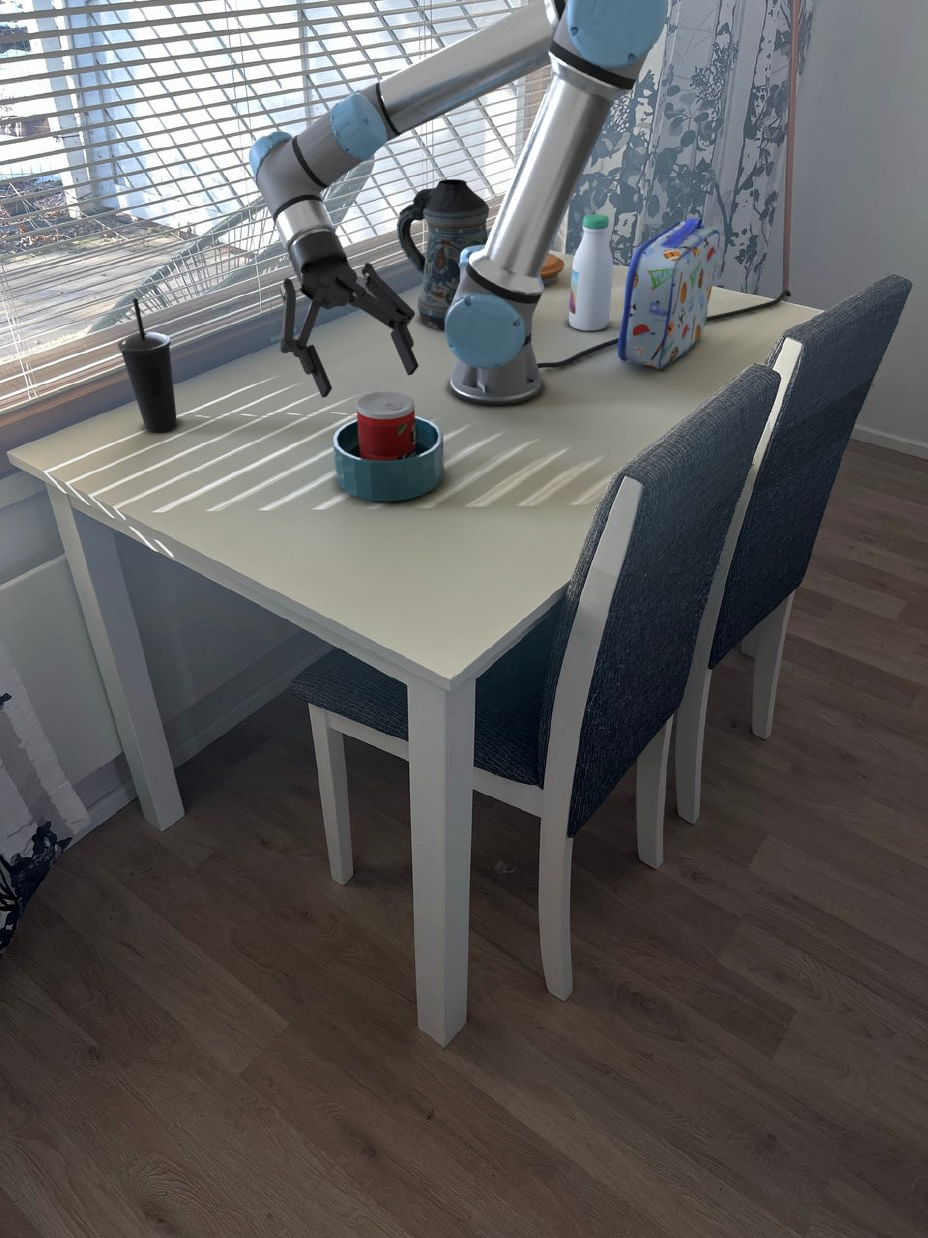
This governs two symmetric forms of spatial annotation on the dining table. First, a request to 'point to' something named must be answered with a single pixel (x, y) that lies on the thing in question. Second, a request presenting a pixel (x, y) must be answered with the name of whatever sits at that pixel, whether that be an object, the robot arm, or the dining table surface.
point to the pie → (551, 269)
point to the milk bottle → (591, 277)
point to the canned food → (386, 426)
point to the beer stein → (442, 242)
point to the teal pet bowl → (389, 465)
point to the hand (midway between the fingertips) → (371, 381)
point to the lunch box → (668, 293)
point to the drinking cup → (150, 375)
